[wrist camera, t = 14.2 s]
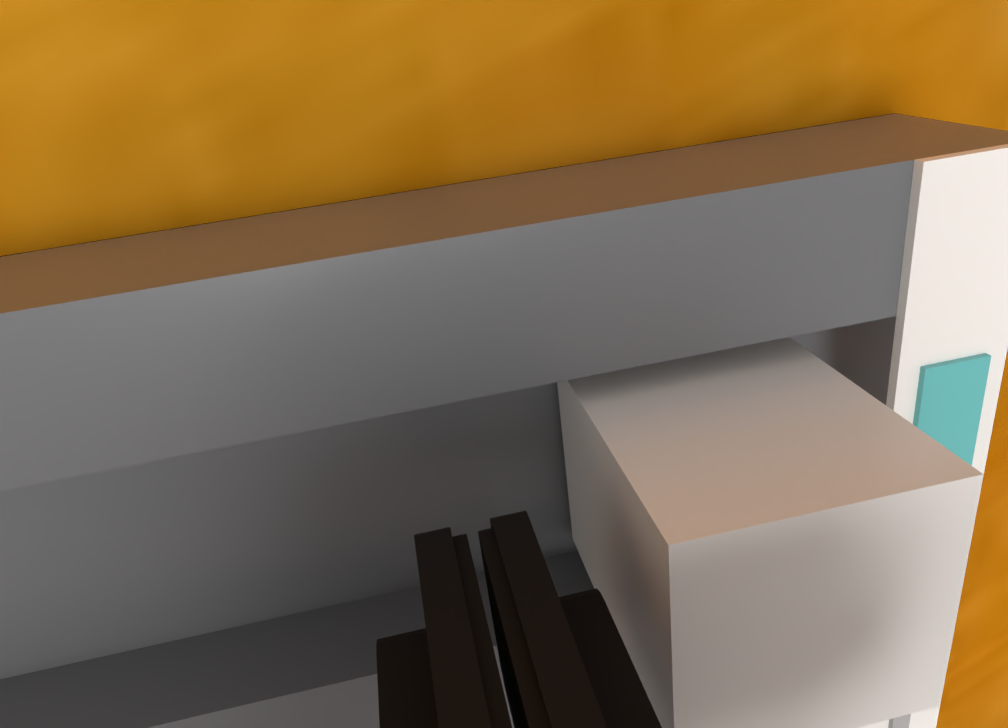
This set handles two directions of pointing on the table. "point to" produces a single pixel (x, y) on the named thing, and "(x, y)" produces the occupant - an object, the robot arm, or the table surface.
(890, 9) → the table surface
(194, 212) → the table surface
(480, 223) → the switch panel
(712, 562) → the switch tab
